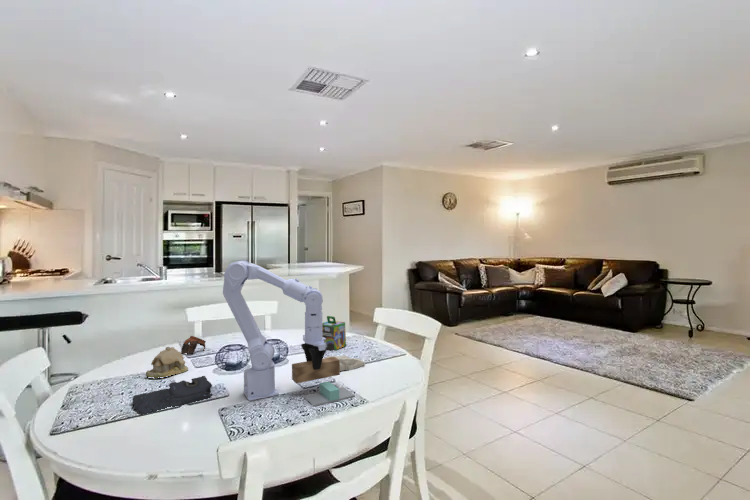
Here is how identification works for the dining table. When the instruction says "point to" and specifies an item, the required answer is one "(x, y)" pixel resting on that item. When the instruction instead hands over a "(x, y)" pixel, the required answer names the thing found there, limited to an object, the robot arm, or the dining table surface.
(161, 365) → the ceramic model
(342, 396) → the board
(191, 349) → the brown curved piece
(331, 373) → the walnut bar
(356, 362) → the rock
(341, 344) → the chalk box
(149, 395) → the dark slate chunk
